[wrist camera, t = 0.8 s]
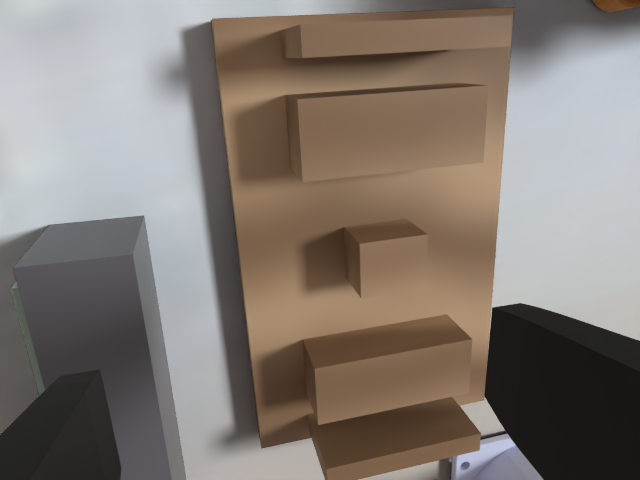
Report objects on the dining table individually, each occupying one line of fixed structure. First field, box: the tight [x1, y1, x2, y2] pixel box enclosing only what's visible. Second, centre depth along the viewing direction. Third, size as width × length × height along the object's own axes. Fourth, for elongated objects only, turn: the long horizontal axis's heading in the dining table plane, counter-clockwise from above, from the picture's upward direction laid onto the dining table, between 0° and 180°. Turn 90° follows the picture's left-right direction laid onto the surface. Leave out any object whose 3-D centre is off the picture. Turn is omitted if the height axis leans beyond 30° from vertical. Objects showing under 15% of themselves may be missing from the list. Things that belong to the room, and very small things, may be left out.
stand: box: [211, 7, 514, 480], centre depth 18 cm, size 16×10×4 cm, turn 3°
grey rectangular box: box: [11, 216, 186, 480], centre depth 17 cm, size 12×3×4 cm, turn 2°
